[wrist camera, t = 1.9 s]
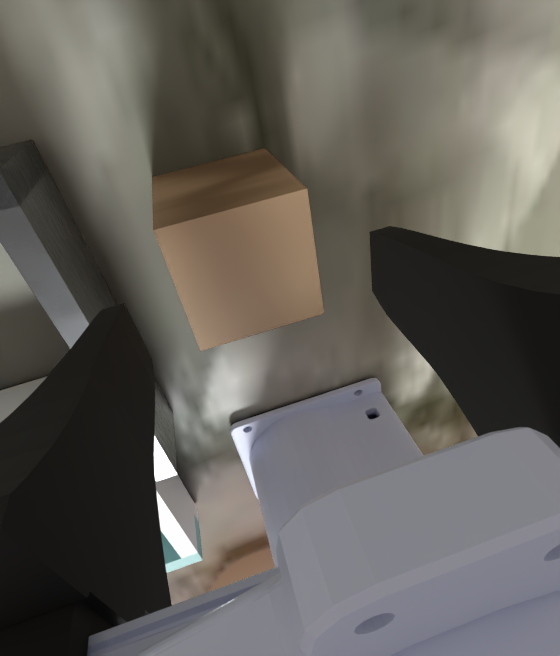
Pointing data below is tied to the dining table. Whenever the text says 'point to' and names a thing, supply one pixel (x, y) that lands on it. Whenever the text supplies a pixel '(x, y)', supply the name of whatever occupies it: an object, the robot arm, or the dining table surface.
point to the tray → (171, 498)
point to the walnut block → (238, 246)
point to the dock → (62, 266)
